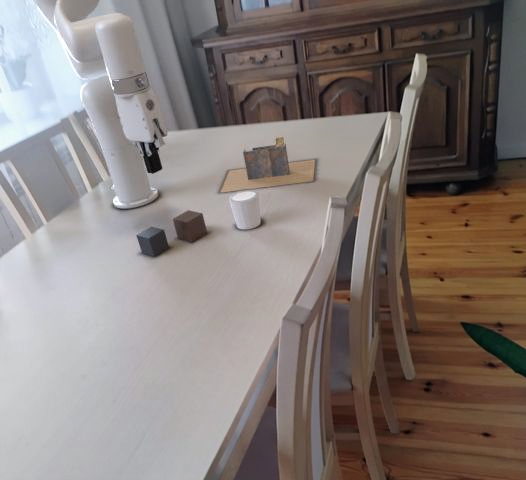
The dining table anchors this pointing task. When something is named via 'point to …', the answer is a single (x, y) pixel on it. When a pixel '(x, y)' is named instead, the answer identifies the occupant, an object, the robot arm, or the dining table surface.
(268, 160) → the ruin model on sheet
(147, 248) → the charcoal block
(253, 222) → the white cylinder
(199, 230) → the walnut block
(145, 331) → the dining table surface
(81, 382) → the dining table surface
